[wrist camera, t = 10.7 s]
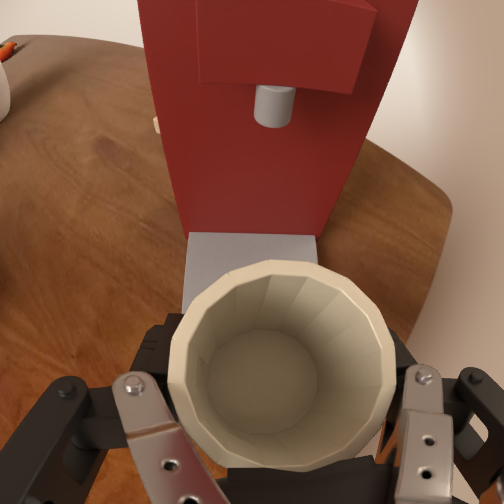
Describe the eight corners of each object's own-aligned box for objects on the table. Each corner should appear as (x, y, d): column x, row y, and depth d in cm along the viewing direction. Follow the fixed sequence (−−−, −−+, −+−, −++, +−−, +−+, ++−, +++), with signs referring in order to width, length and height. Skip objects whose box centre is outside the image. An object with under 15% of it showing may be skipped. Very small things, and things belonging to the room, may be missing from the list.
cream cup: (296, 307, 17) (342, 235, 10) (340, 412, 14) (424, 417, 7) (184, 344, 15) (142, 296, 8) (224, 457, 13) (216, 510, 6)
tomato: (12, 44, 52) (10, 32, 46) (23, 54, 56) (20, 43, 50) (-7, 62, 50) (-11, 51, 44) (4, 72, 54) (-1, 62, 48)
